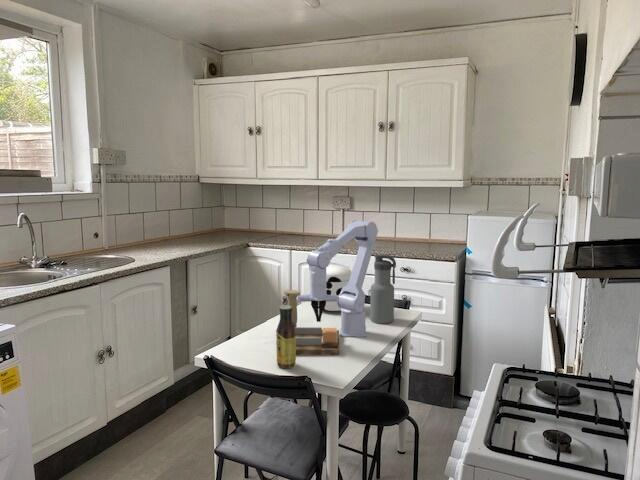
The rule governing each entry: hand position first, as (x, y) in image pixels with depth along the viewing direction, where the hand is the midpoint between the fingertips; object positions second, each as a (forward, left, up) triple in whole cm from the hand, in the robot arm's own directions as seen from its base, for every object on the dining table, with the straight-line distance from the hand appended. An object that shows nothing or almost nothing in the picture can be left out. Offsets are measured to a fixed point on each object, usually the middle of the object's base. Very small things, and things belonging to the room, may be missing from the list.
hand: (318, 320), depth 173 cm
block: (-4, 0, -7) cm, 8 cm away
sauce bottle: (+10, +19, -9) cm, 23 cm away
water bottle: (-26, -28, -9) cm, 39 cm away
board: (+3, 0, -9) cm, 9 cm away
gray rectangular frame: (+6, 0, -7) cm, 9 cm away
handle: (+11, -18, -9) cm, 23 cm away
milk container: (-6, -44, -9) cm, 45 cm away
